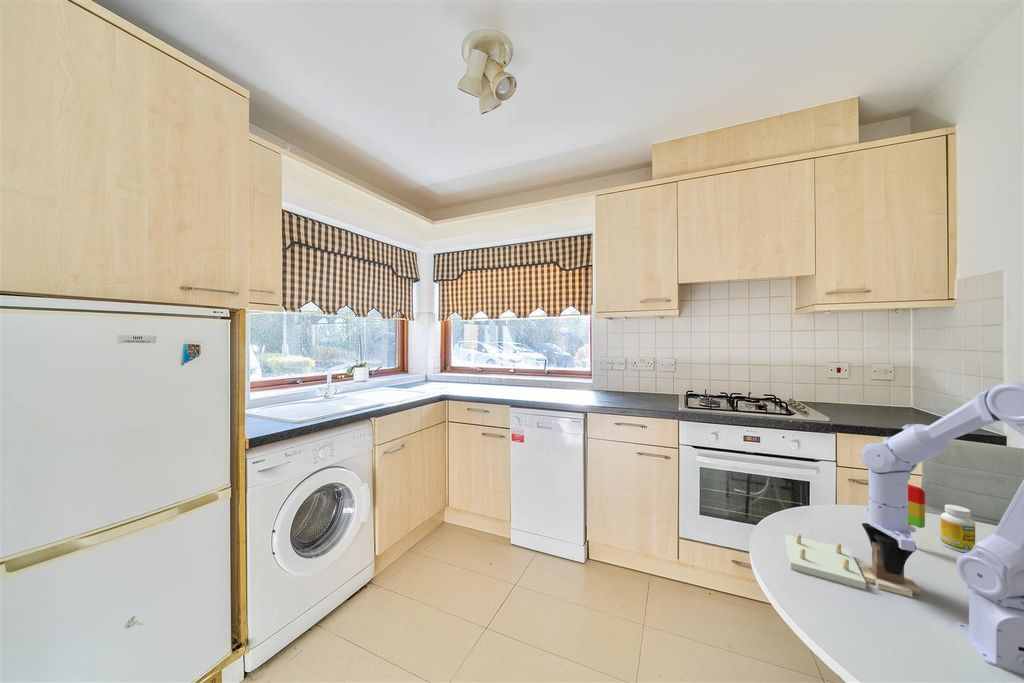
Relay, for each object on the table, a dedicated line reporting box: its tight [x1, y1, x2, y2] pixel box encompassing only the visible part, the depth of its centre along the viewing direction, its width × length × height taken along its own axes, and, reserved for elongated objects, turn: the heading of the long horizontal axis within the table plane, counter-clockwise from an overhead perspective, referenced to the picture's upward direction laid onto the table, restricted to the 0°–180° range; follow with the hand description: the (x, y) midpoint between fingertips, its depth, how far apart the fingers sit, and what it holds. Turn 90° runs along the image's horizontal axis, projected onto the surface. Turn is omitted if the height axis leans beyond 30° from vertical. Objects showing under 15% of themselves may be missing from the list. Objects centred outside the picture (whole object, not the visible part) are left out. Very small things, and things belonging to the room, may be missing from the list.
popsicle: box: [908, 483, 926, 534], centre depth 89 cm, size 6×2×15 cm, turn 16°
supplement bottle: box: [940, 504, 976, 553], centre depth 88 cm, size 5×5×10 cm
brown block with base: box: [857, 542, 921, 598], centre depth 75 cm, size 8×8×7 cm
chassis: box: [784, 533, 867, 591], centre depth 82 cm, size 14×12×4 cm
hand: (887, 567), depth 75 cm, fingers closed on brown block with base, 3 cm apart
